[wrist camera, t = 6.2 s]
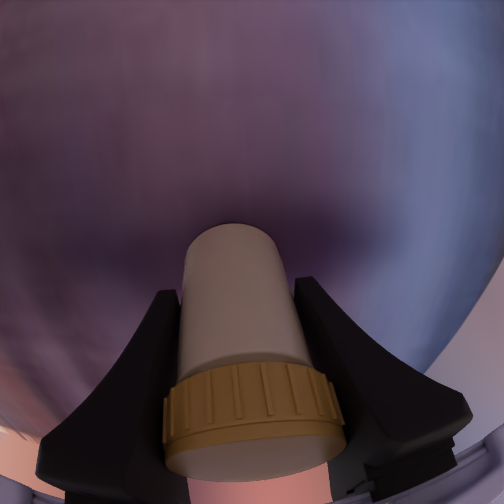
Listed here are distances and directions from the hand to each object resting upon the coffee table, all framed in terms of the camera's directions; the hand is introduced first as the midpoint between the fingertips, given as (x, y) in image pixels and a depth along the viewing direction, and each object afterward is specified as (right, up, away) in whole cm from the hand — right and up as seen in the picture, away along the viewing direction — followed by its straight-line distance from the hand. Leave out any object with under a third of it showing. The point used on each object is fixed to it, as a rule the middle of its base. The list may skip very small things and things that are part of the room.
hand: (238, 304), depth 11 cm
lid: (+1, -3, -4) cm, 6 cm away
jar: (0, +1, +2) cm, 2 cm away
